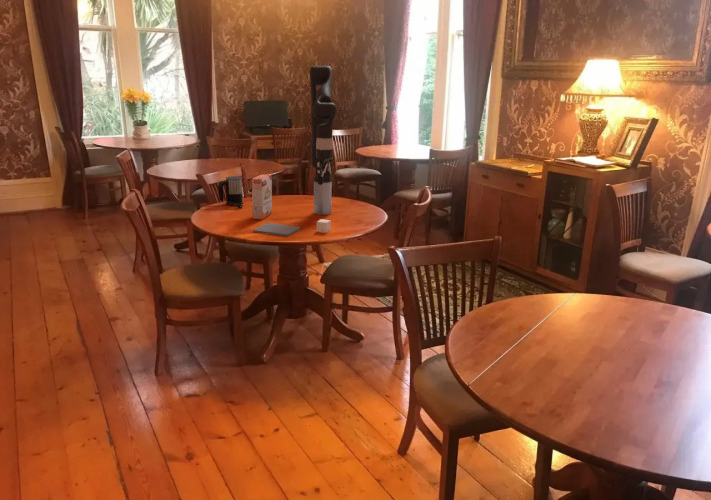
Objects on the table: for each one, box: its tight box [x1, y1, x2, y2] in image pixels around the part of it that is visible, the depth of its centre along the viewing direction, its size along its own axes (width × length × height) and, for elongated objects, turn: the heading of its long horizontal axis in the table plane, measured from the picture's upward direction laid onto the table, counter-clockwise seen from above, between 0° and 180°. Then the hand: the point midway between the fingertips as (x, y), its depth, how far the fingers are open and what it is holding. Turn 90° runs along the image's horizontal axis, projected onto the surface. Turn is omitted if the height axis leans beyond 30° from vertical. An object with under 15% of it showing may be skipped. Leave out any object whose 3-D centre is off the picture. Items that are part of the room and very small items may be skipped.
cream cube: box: [316, 218, 332, 234], centre depth 269 cm, size 5×5×5 cm
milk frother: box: [217, 175, 244, 208], centre depth 311 cm, size 14×16×15 cm
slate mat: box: [252, 222, 302, 238], centre depth 267 cm, size 14×18×1 cm
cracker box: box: [251, 173, 273, 221], centre depth 288 cm, size 14×6×21 cm, turn 168°
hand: (324, 182), depth 262 cm, fingers open, 8 cm apart
